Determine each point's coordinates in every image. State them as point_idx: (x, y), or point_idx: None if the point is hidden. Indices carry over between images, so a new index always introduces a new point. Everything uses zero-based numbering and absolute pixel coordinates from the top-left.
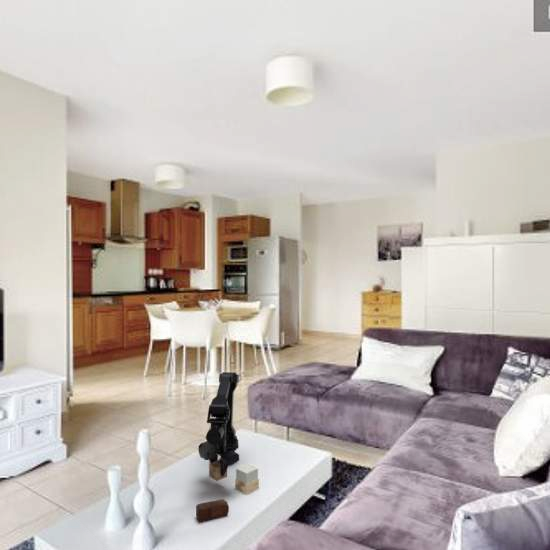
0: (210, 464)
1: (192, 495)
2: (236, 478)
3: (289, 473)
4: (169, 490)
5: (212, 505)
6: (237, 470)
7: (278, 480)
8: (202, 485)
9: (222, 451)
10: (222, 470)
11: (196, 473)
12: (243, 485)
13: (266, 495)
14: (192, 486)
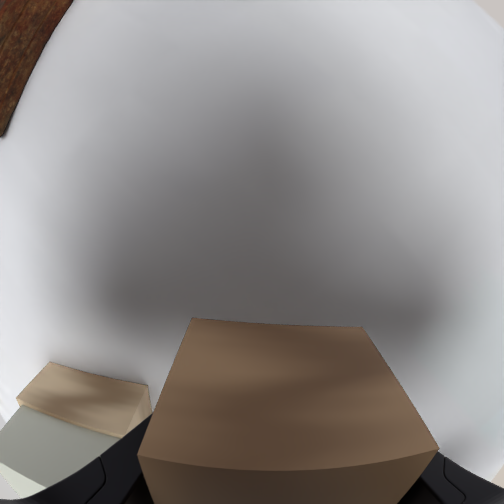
0: (406, 458)
1: (338, 86)
2: (117, 440)
3: None
4: (493, 70)
5: None
6: None
7: None
8: (393, 263)
9: None
10: (110, 448)
11: (499, 337)
12: (49, 397)
13: (11, 394)
14: (442, 198)
